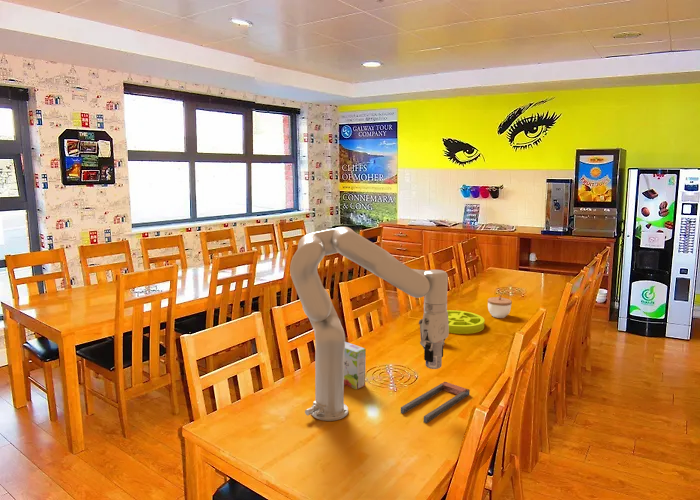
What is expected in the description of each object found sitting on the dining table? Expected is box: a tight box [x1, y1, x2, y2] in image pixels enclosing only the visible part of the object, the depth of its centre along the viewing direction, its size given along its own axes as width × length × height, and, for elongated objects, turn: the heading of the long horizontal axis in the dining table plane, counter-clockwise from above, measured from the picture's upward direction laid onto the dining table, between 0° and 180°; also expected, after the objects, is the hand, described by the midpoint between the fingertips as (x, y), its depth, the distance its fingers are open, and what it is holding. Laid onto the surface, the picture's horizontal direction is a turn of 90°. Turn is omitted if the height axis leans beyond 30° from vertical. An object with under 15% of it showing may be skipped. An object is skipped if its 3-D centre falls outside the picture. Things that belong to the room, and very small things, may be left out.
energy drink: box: [425, 339, 443, 370], centre depth 174 cm, size 5×5×12 cm
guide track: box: [400, 381, 471, 424], centre depth 180 cm, size 28×10×2 cm, turn 138°
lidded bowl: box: [487, 296, 513, 319], centre depth 283 cm, size 13×13×11 cm
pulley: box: [447, 309, 485, 335], centre depth 267 cm, size 28×28×5 cm
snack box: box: [344, 341, 366, 390], centre depth 198 cm, size 21×6×15 cm, turn 47°
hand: (433, 358), depth 175 cm, fingers closed on energy drink, 5 cm apart
